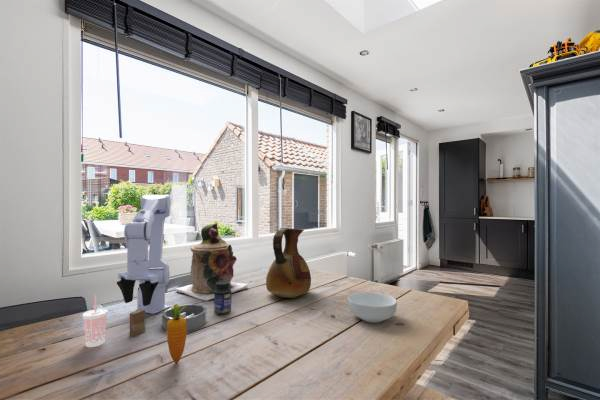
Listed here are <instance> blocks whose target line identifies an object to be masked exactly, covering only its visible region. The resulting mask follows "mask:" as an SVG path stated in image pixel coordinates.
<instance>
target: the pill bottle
mask: <svg viewBox="0 0 600 400" xmlns="http://www.w3.org/2000/svg"><path fill="white" fill-rule="evenodd" d="M216 287H217V289H216V290H215V291H214V300H213V302H214V303H213V306H214V307H213V309H214V310H213V312H214V314H216V315H220V316H223V315H228V314H230V312H231V311H232V293H231V289H230V288H229V282H228V281H220V282H217V283H216Z"/></svg>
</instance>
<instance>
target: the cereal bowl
mask: <svg viewBox="0 0 600 400" xmlns="http://www.w3.org/2000/svg"><path fill="white" fill-rule="evenodd" d="M397 303H398V302H397V299H396V298H395V297H393V296H391V295H388V294H384V293H379V292H371V291H370V292H367V291H366V292H364V291H363V292H356V293H352V294H350V295H348V296H347V306H348V309H349V311H350V312H351V313H352V314H353V315H354V316H355V317H357V318H360V319H361V320H362V321H364V322H367V323H373V324H374V323H375V324H376V323H382V322H383V321H385V320H388V319H390V318H392V317H393V316H394V315H395V313H396V311H397V309H398V308H397V307H398V304H397Z"/></svg>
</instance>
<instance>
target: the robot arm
mask: <svg viewBox="0 0 600 400" xmlns="http://www.w3.org/2000/svg"><path fill="white" fill-rule="evenodd" d="M171 200H172V199H171V196H170V195H169V194H145V193H144V194H143V195H141V198H140V208H141V209H140V210H139V211H137V212H136V213H135V216H134V217H133V219H132V221H129V222H128V223H126V224H125V225H124V240H125V246H126V247H127V249H126V250H127V254H126V255H127V256H126V257H127V260H126V263H127V265H126V267H127V268H126V269H127V270H126V271H120V272H118V273H117V279H118V281H116V285H117V286H118V288H119V289H120V291H121V293H122V297H123V300H124V303H125V304H128V303H131V302H133V299H134V289H135V286H136V285H135V284H136V282H137V281H138V283H139V284H138V286H139V289H138V291H137V294H136V296H137V298H136V301H137V306H136V307H137V308H136V309H135V311H137V310H139V309H144V310H145V314H146V313H147V314H152V315H155V314H157V313H159V312H161V311H165V310H167V309H170V308H171V306H170V304H169V305H167V304H166V298H165V297H166V285H167V284H168V283H169V281H170V266H169V263H167V262H166V261H164V260H163V247H164V246H163V243H164V242H163V241H164V230H165V229H164V228H165V221H166V218H168V217H170V214H171V206H172V205H171V204H172V201H171Z"/></svg>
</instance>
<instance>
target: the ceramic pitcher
mask: <svg viewBox="0 0 600 400" xmlns="http://www.w3.org/2000/svg"><path fill="white" fill-rule="evenodd" d="M304 231H305V229H300V228H299V229H298V228H291V227H280V228H279V229H278V230H277V231H276V232H275V233H274V235H273V237H272V238H273V239H272V249H273V252H274V253H273V254H274V257H275V259H274V260H273V262H272V264H271V265H270V267H269V269H268V272H267V274H266V280H265V286H266V287H265V288H266V290H267V291H268V293H271V294H274V295H276V296H277V297H282V298H290V299H291V298H293V299H294V298H298V296H301V295H305V294H306V293H307V294H308V292H309V291H310V290H311V284H312V275H311V272H310V268H309V266H308V263H307V262H306V261H307V260H305V258H304V257H303V256H302V255H301V254H300V252H299V249H298V243H299V237H300V235H301V234H302V233H303V232H304ZM283 237H284V242H285V243H284V249H283Z"/></svg>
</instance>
